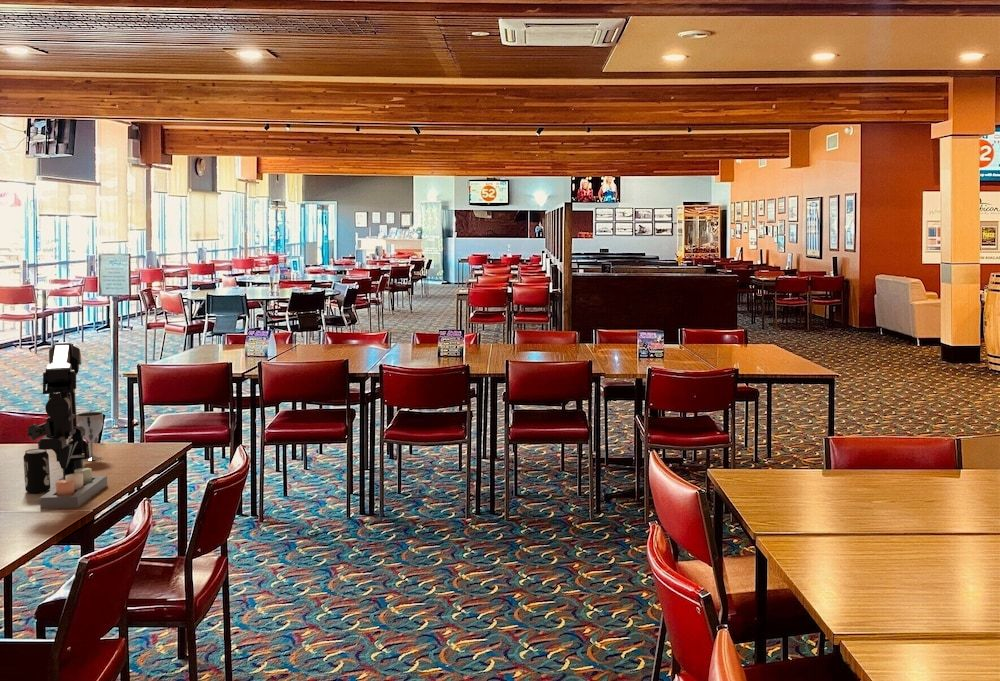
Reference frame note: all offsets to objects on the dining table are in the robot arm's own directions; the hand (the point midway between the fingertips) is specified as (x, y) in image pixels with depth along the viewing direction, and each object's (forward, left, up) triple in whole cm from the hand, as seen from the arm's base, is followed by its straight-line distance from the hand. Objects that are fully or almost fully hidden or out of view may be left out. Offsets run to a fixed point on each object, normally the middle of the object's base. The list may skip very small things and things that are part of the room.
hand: (64, 468), depth 283 cm
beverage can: (-14, -13, -10) cm, 22 cm away
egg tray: (-7, 0, -10) cm, 12 cm away
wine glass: (-56, -12, -10) cm, 58 cm away
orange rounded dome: (0, 0, -8) cm, 8 cm away
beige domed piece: (-7, 0, -8) cm, 11 cm away
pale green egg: (-14, 0, -8) cm, 16 cm away
